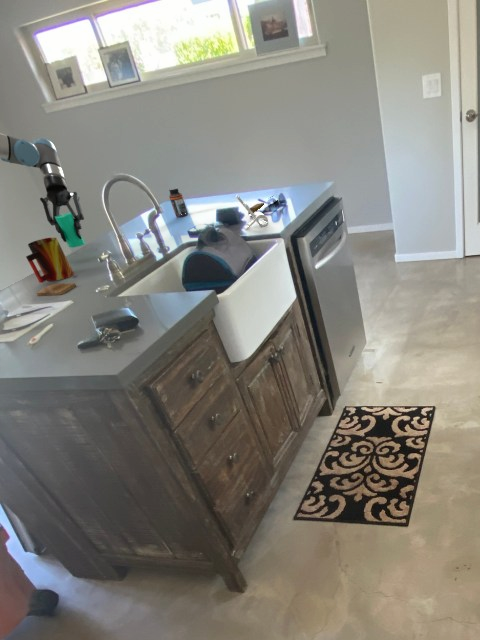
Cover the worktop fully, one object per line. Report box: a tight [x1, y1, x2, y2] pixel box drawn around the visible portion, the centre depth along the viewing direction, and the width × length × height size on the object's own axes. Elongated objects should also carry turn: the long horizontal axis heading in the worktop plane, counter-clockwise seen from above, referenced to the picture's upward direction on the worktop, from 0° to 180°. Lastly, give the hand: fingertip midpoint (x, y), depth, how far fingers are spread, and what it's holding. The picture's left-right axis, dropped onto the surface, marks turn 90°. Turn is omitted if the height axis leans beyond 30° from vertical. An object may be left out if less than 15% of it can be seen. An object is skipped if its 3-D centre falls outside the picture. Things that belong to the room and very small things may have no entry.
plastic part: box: [235, 194, 269, 231], centre depth 211 cm, size 8×10×12 cm
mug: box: [25, 236, 75, 284], centre depth 186 cm, size 10×14×12 cm
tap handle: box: [247, 195, 274, 218], centre depth 237 cm, size 3×3×30 cm
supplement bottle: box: [168, 187, 189, 218], centre depth 245 cm, size 6×6×11 cm
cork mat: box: [36, 282, 77, 297], centre depth 177 cm, size 10×8×1 cm
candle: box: [55, 210, 86, 249], centre depth 197 cm, size 6×6×12 cm
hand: (71, 238), depth 196 cm, fingers closed on candle, 5 cm apart
